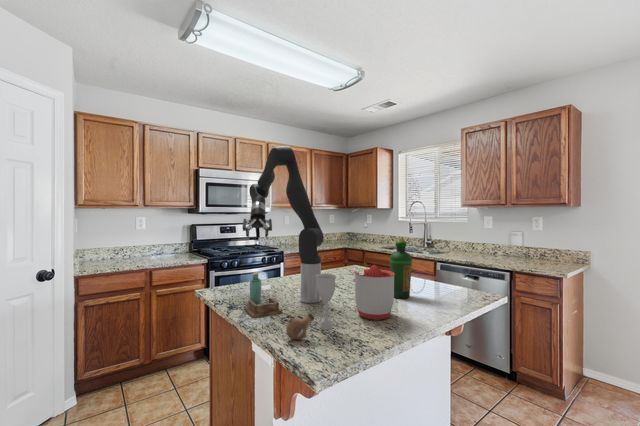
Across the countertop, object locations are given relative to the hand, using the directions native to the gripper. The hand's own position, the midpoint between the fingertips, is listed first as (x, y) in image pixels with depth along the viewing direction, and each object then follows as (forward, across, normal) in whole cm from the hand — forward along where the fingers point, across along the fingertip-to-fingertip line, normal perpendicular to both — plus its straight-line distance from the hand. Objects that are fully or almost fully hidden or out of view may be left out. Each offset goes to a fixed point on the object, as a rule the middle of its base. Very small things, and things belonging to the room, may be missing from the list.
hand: (257, 236), depth 152 cm
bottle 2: (+28, +68, +13) cm, 75 cm away
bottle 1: (+28, 0, +12) cm, 31 cm away
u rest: (+38, +4, +3) cm, 38 cm away
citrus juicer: (+45, +46, -4) cm, 65 cm away
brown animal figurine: (+59, +16, -18) cm, 64 cm away
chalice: (+52, +26, -12) cm, 60 cm away
